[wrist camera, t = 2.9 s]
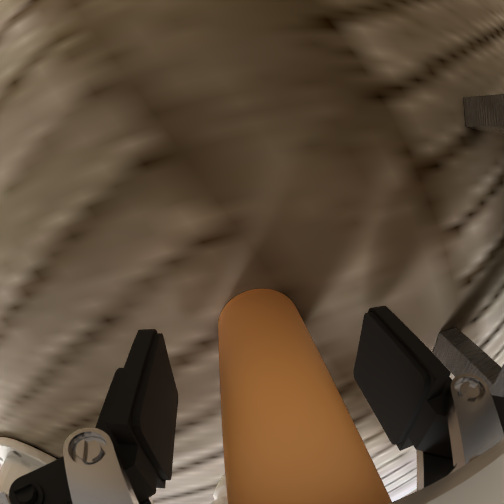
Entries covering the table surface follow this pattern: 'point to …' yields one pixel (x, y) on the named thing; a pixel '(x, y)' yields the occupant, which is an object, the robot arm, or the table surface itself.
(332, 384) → the pin
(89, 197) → the table surface
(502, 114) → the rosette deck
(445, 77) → the table surface
